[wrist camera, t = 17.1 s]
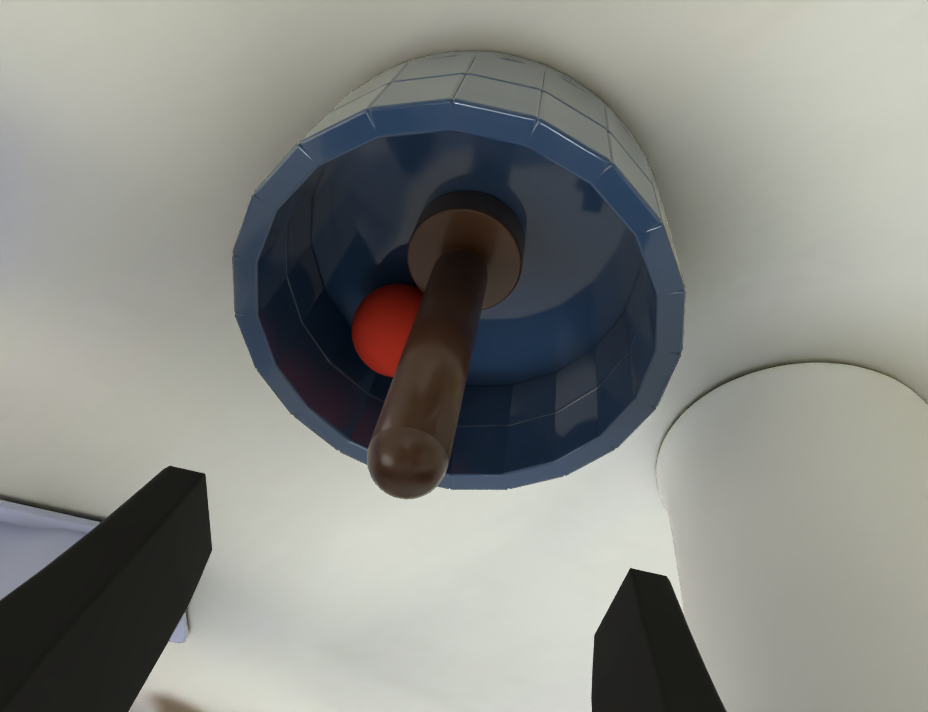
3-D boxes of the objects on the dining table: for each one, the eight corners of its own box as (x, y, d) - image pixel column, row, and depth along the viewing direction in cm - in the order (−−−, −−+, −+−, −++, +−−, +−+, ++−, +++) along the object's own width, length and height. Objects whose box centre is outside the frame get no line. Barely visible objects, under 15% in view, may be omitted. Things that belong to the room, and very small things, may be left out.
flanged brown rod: (432, 173, 17) (328, 391, 10) (541, 213, 17) (518, 456, 10) (403, 269, 19) (295, 514, 12) (502, 304, 19) (458, 566, 12)
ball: (319, 315, 19) (363, 395, 19) (362, 305, 16) (409, 395, 17) (389, 275, 20) (427, 351, 21) (437, 261, 18) (478, 346, 18)
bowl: (294, 349, 22) (238, 443, 18) (302, 8, 16) (221, 47, 12) (598, 417, 22) (603, 524, 18) (724, 100, 16) (769, 168, 12)
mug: (1085, 303, 17) (1721, 836, 8) (1051, 520, 22) (1431, 1033, 12) (630, 391, 21) (680, 830, 11) (679, 562, 25) (744, 984, 16)
